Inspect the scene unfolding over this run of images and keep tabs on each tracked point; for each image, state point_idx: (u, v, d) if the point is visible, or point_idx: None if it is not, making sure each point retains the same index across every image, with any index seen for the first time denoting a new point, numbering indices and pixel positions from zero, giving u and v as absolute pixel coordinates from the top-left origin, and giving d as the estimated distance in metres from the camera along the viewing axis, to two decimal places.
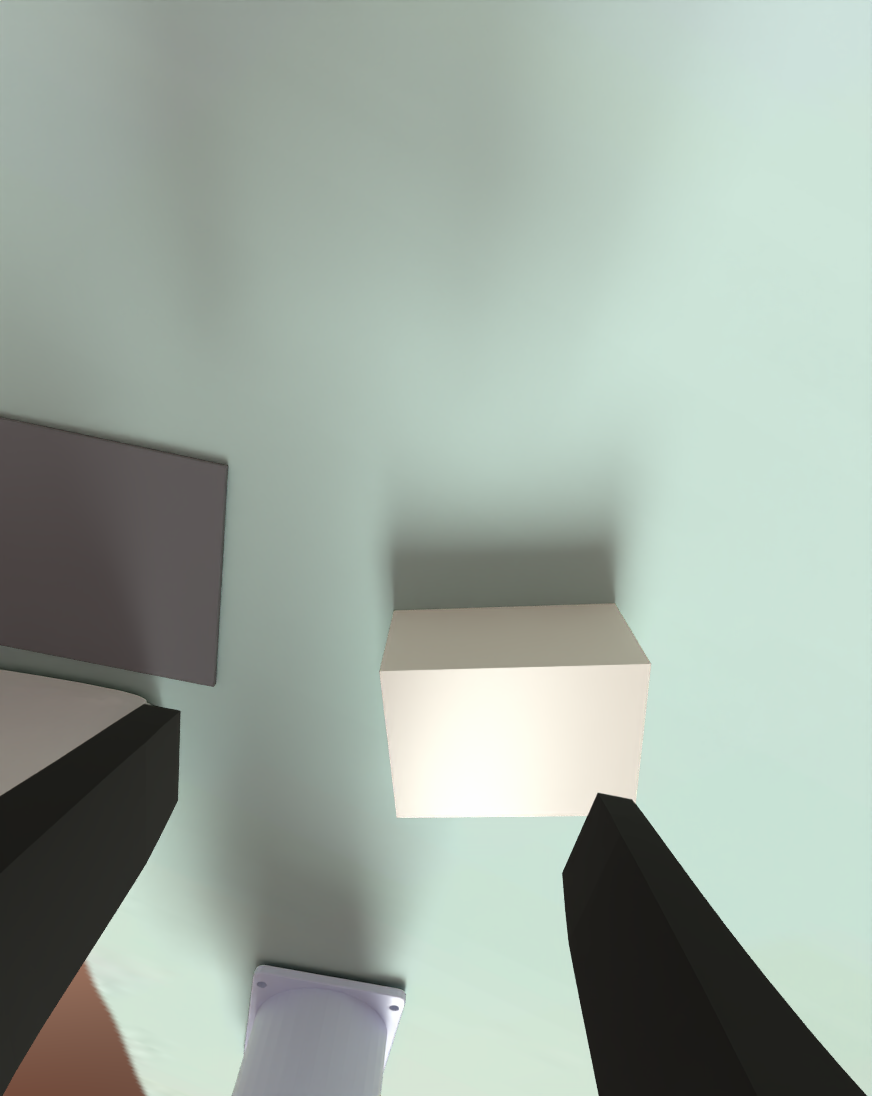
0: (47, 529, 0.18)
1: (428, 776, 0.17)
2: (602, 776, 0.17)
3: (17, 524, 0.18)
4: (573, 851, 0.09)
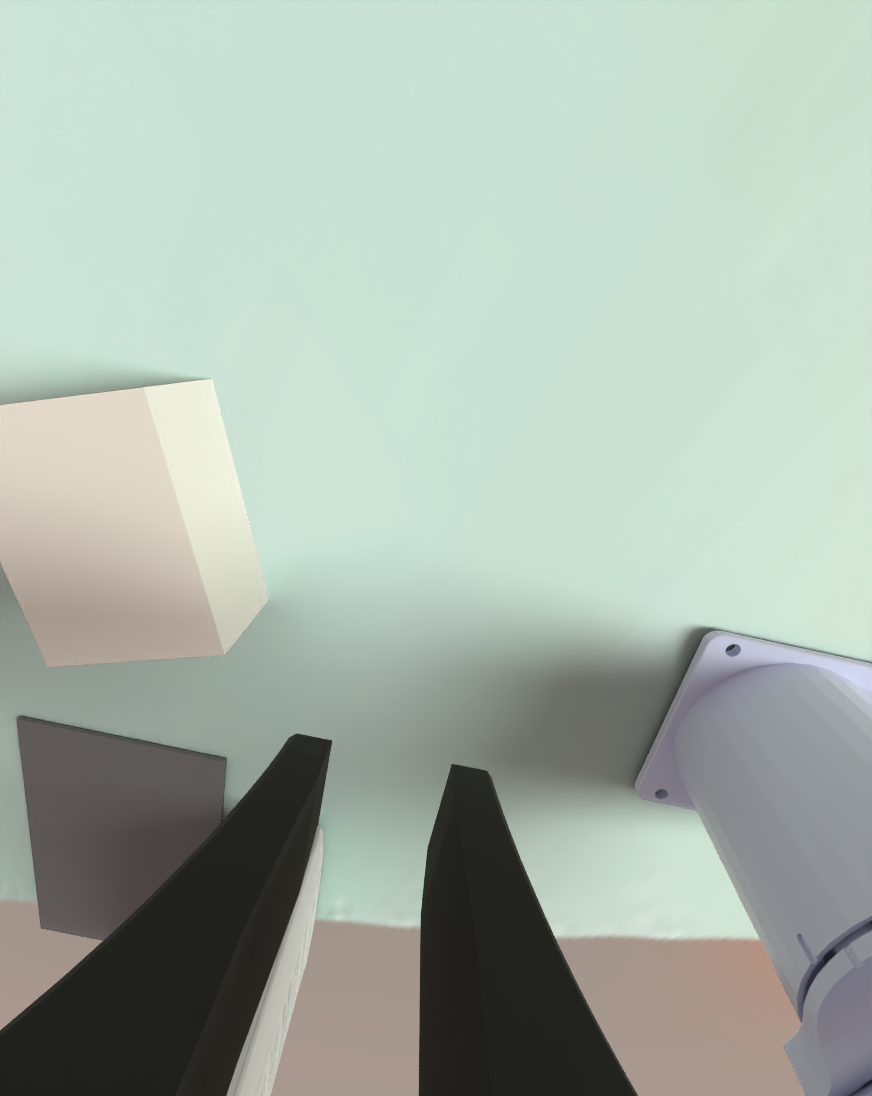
0: (104, 836, 0.24)
1: (157, 625, 0.16)
2: (97, 439, 0.14)
3: (106, 852, 0.25)
4: (434, 825, 0.09)
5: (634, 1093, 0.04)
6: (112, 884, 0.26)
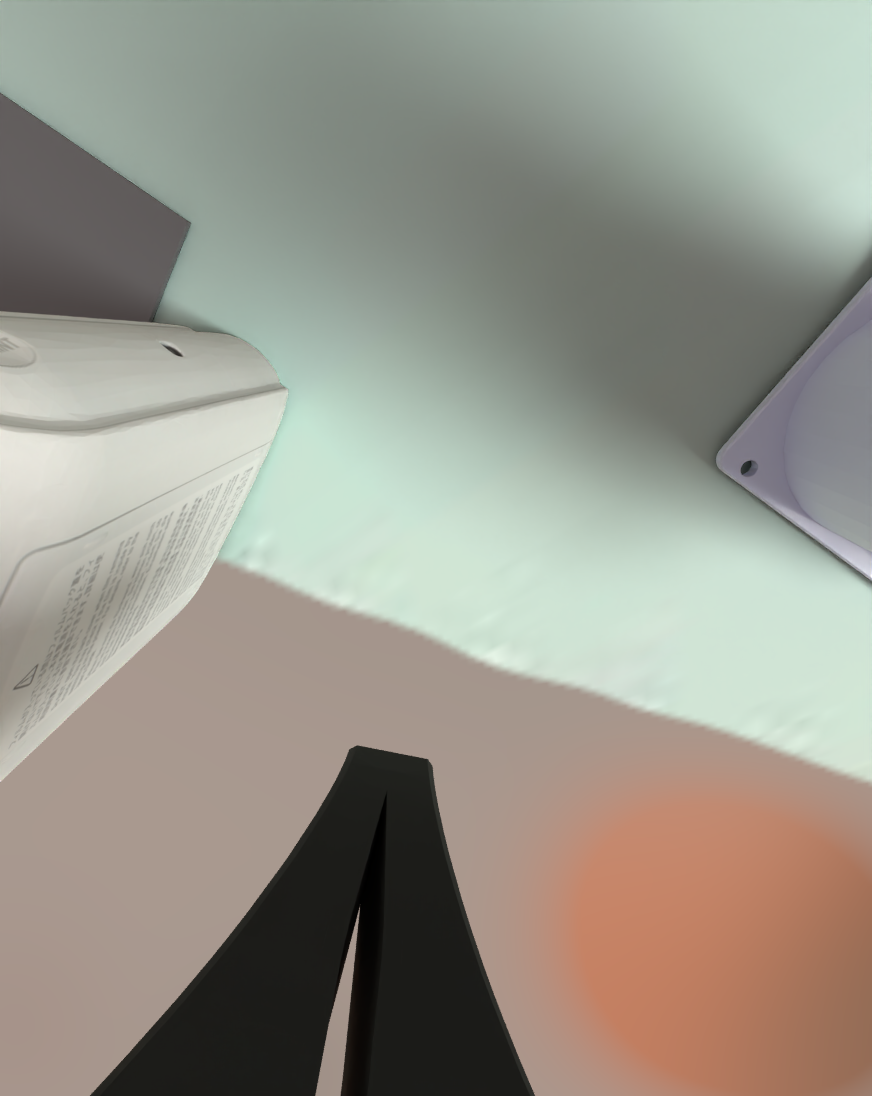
0: None
1: None
2: None
3: None
4: None
5: (521, 1074, 0.04)
6: None
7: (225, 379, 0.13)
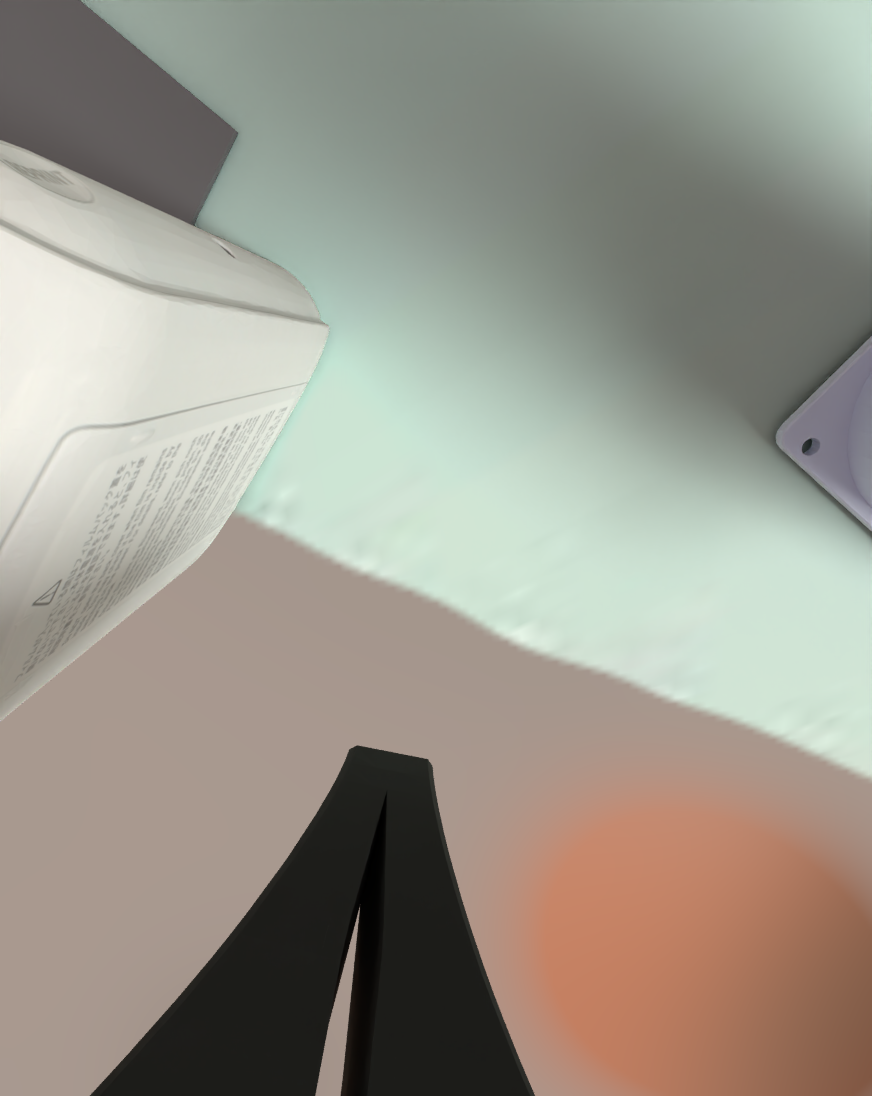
0: None
1: None
2: None
3: None
4: None
5: (522, 1074, 0.04)
6: None
7: (274, 296, 0.12)
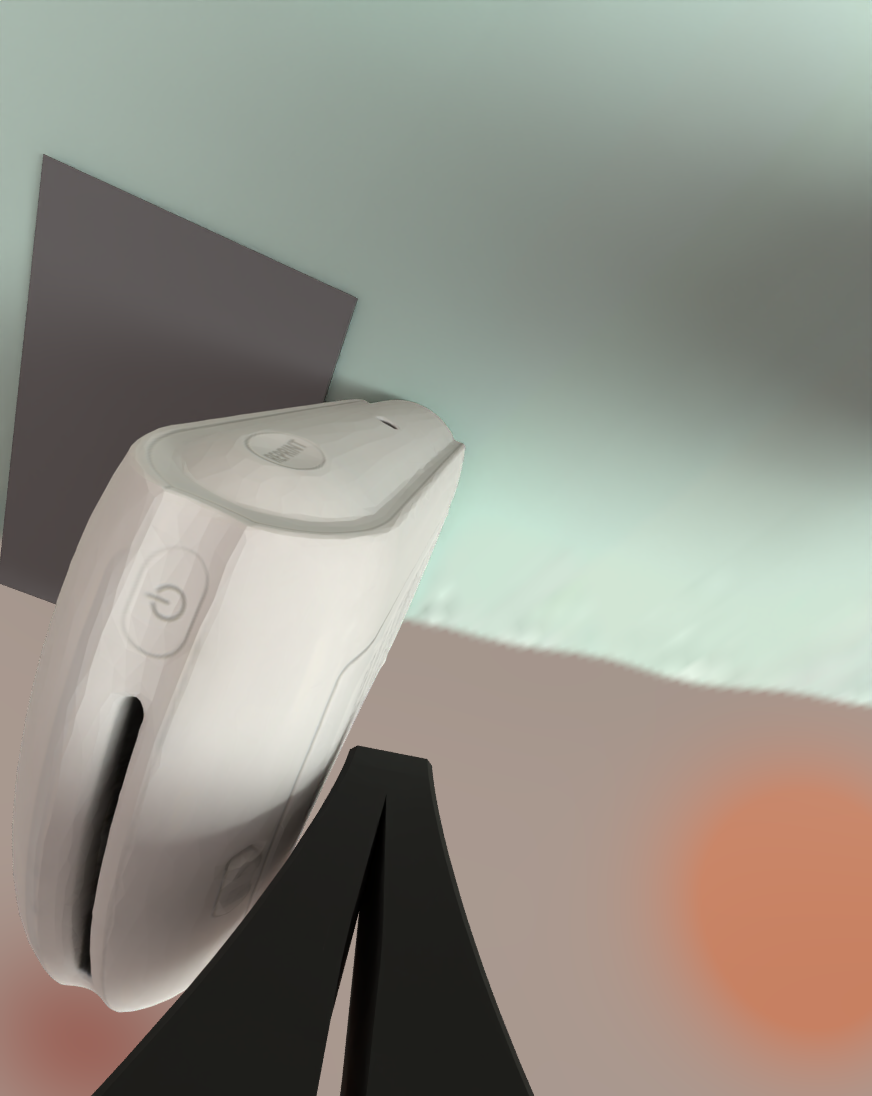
0: (134, 421, 0.17)
1: None
2: None
3: None
4: None
5: (521, 1074, 0.04)
6: None
7: (428, 444, 0.12)
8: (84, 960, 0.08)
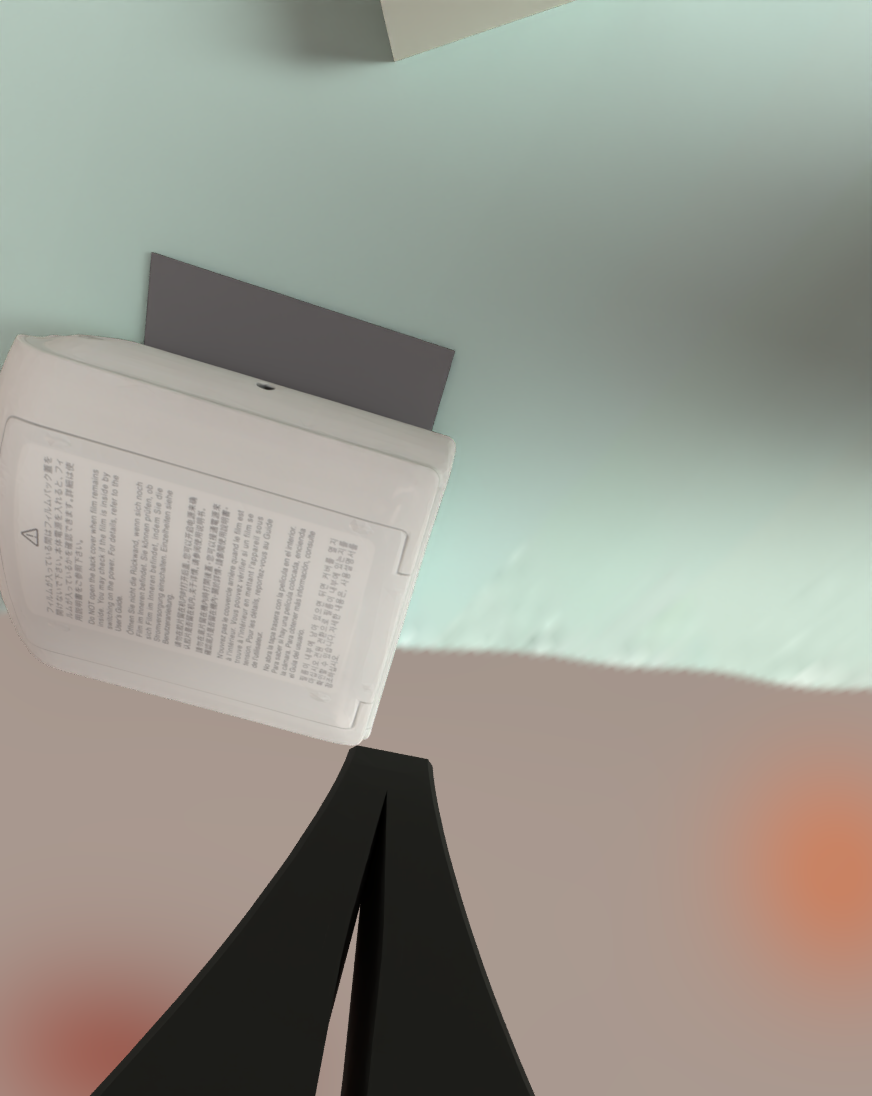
0: None
1: None
2: None
3: None
4: None
5: (521, 1073, 0.04)
6: None
7: (302, 416, 0.13)
8: None
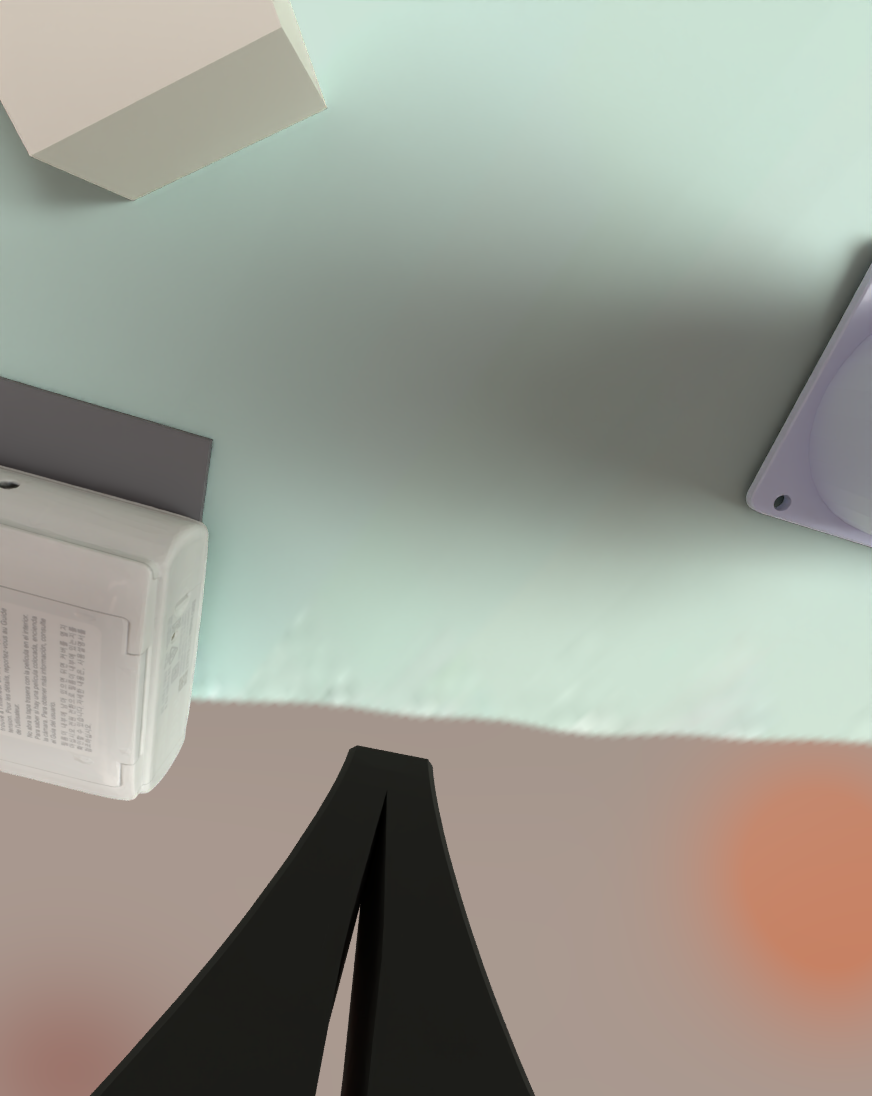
0: None
1: None
2: None
3: None
4: None
5: (521, 1074, 0.04)
6: None
7: (30, 516, 0.14)
8: None
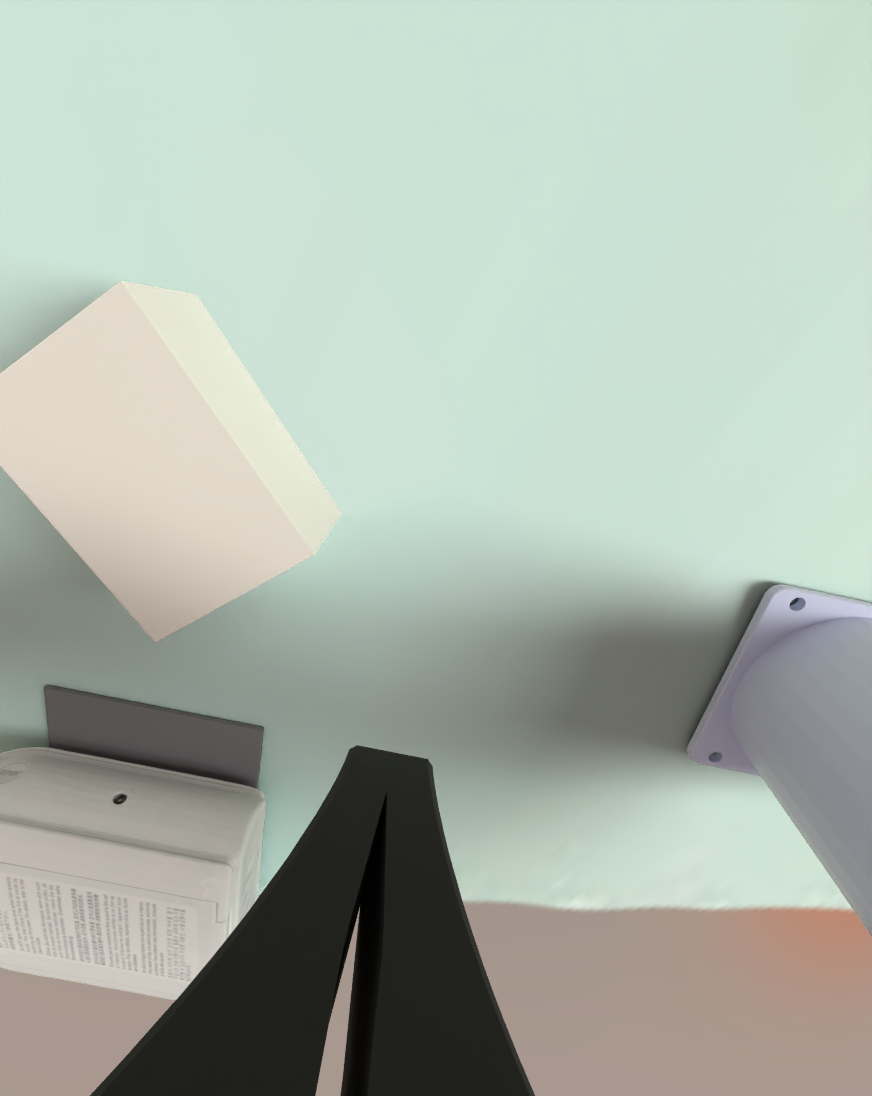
0: None
1: (237, 549, 0.15)
2: (102, 364, 0.13)
3: None
4: None
5: (522, 1073, 0.04)
6: None
7: (140, 829, 0.19)
8: None
